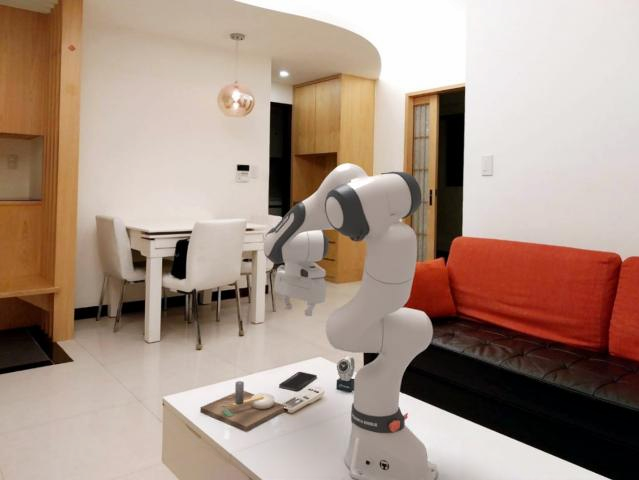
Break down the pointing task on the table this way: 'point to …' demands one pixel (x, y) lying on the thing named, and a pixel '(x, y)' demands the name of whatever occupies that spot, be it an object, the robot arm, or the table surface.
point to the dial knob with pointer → (252, 398)
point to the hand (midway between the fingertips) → (298, 312)
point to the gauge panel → (240, 412)
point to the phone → (298, 381)
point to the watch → (346, 374)
